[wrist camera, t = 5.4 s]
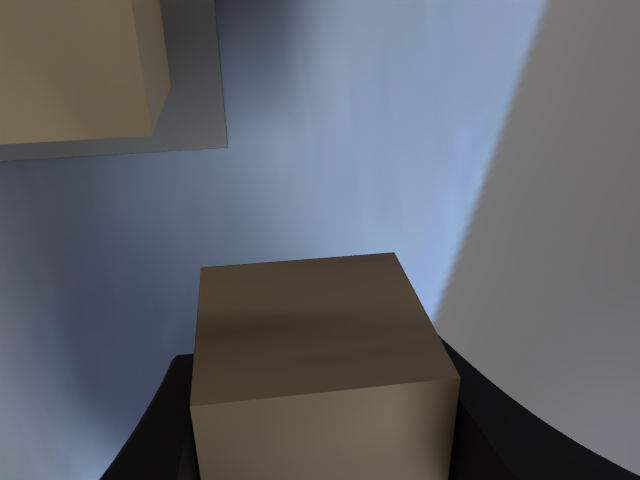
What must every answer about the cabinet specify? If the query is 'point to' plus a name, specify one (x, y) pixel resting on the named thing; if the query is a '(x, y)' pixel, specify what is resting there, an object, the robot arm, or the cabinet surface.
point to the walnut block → (319, 374)
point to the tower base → (179, 108)
